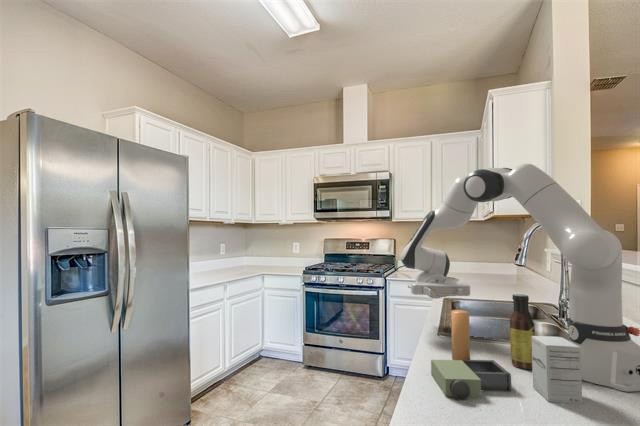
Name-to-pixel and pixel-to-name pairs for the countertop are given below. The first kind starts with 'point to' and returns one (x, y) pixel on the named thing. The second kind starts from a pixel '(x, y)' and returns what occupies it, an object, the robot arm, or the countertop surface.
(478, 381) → the green rectangular block
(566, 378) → the supplement box
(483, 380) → the frame
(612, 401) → the countertop surface
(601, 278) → the robot arm
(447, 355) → the countertop surface
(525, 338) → the sauce bottle
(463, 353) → the orange cylinder
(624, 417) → the countertop surface
